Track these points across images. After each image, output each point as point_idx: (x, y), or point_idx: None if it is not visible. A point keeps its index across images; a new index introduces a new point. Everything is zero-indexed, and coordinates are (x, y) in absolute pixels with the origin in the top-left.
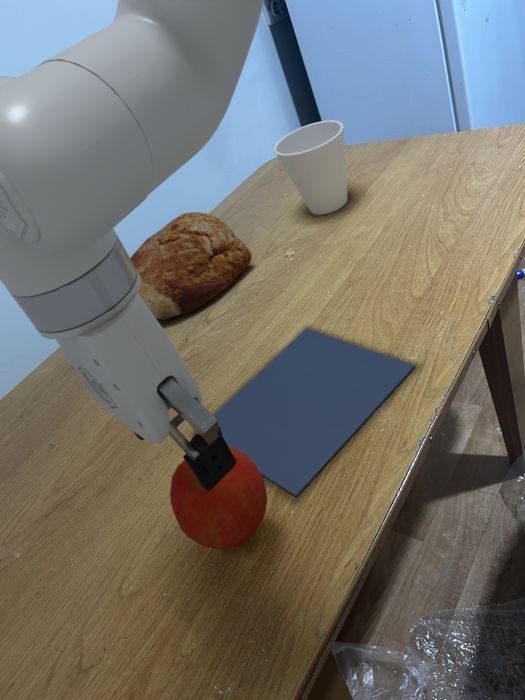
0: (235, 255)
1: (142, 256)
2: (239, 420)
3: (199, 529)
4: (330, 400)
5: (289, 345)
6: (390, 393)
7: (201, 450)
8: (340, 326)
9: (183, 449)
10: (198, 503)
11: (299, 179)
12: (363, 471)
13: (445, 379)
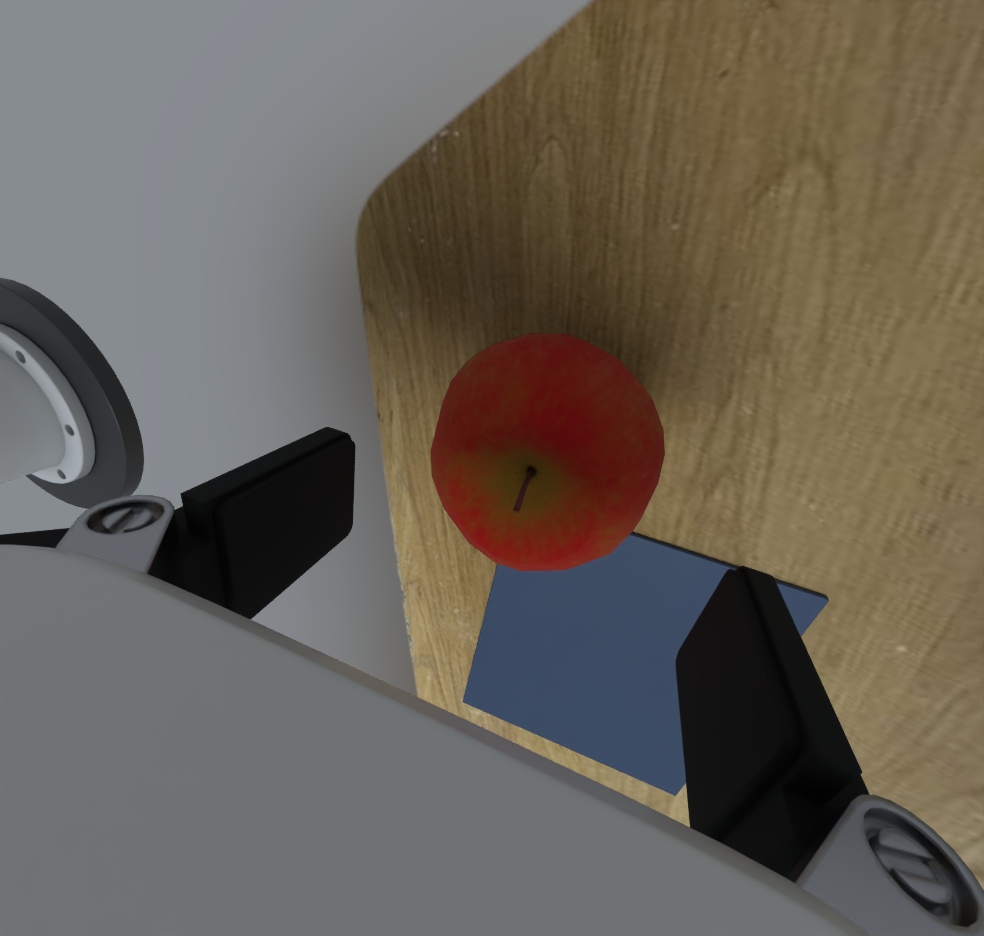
0: None
1: None
2: None
3: (497, 352)
4: (551, 658)
5: None
6: (472, 663)
7: (36, 537)
8: (613, 783)
9: (142, 534)
10: (476, 404)
11: None
12: (445, 549)
13: (421, 677)
